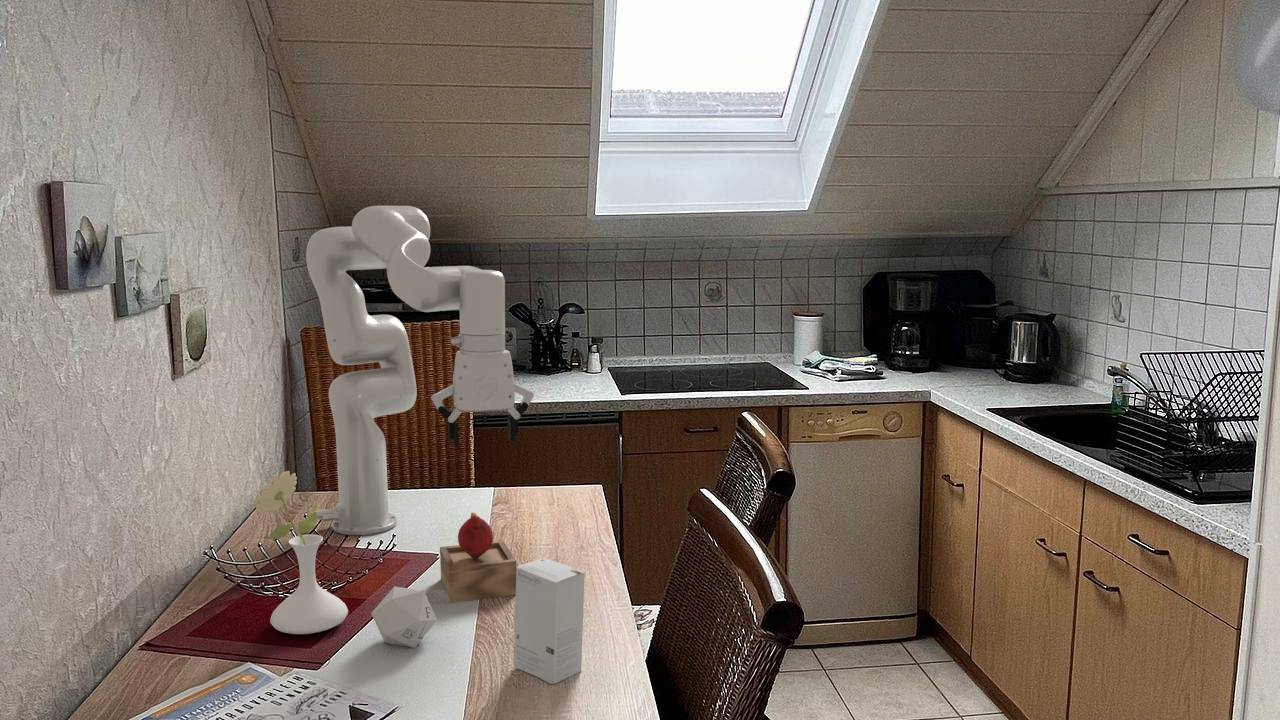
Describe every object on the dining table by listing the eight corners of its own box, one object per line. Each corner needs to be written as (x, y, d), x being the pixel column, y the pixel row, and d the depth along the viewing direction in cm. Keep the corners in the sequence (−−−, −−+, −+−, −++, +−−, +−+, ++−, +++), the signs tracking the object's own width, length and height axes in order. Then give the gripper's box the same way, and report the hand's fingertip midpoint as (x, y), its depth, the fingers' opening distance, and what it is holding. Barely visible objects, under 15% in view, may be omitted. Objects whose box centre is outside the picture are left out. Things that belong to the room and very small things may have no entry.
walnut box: (450, 602, 162) (449, 568, 161) (440, 579, 172) (439, 547, 172) (516, 594, 166) (516, 560, 165) (503, 571, 176) (503, 540, 175)
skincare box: (512, 668, 139) (510, 566, 137) (543, 654, 144) (542, 555, 141) (555, 686, 134) (554, 581, 131) (586, 671, 138) (585, 568, 136)
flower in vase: (326, 605, 161) (319, 454, 157) (362, 626, 153) (355, 468, 149) (247, 628, 152) (237, 469, 148) (280, 652, 144) (271, 484, 140)
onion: (496, 553, 171) (495, 508, 170) (488, 564, 165) (487, 518, 164) (463, 552, 171) (462, 507, 170) (454, 563, 166) (453, 517, 165)
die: (388, 664, 142) (428, 610, 142) (350, 624, 145) (389, 571, 145) (418, 660, 149) (456, 609, 149) (381, 623, 153) (419, 572, 153)
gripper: (433, 348, 162) (434, 450, 165) (537, 345, 167) (537, 444, 170) (428, 341, 169) (430, 439, 172) (528, 339, 174) (528, 434, 177)
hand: (483, 442), depth 171 cm, fingers open, 9 cm apart
